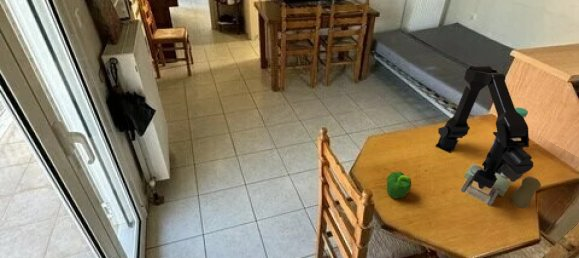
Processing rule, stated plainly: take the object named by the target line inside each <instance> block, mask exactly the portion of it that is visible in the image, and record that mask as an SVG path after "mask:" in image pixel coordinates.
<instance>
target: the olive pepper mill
mask: <svg viewBox="0 0 579 258" xmlns="http://www.w3.org/2000/svg"><path fill="white" fill-rule="evenodd" d="M541 185H542V184H541V181H539V179H537V178H536V177H533V176H526V177H524V178H523V179H522V181H521V185H520V186H519V187H518V188H517V189H516V190H515V191H514V193H513V194H511V195H510V197H509V201H510V203H512V205H514V206H515V207H518V208H520V209H528V208H529V207H530V204H531V202H532V200H533V197H534V195H535V193H536V192H537V191H539V190H540V188H541ZM528 206H529V207H528ZM527 207H528V208H527Z"/></svg>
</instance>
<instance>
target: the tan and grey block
mask: <svg viewBox="0 0 579 258" xmlns="http://www.w3.org/2000/svg"><path fill="white" fill-rule="evenodd" d="M496 178H497V177H496ZM497 179H498V178H497ZM496 181H497V180H496ZM495 183H496V182H495ZM494 185H495V184H494ZM494 185H493V186H494ZM471 186H472V187H474V188H476V189H478V190H480V191H482V192H484V193H486V194H488V195H489V193H490V191H491V190H492V188H493V187H492V188H487V187H484V188H483V189H480V188H479V186H478V183H477V182H475V181H473V183H472V185H471Z"/></svg>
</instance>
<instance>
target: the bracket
mask: <svg viewBox="0 0 579 258" xmlns="http://www.w3.org/2000/svg"><path fill="white" fill-rule="evenodd" d="M472 178H473V176H472V175H470V177H469V178H468V179H466V180H465V183H464V184H463V185H462V187H461V189H460V191H461V192H463V193H465V194H467V195H469V196H471V197H473V198H474V199H477V200H479V201H481V202H483V203H484V204H487V205H488V207H489V206H490V207H491V206H492V204H493V203H494V201H495V199H496V198H497V196H498V195H499V194H498V193H499V191H500V189H499V188H497V187H495V186H493V188H492V190H491V191H490V193H489V195H488V194H486V193H484V192H482V191H480V190H478V189H476V188H474V187H472V186H471V185H472V183H473V179H472Z"/></svg>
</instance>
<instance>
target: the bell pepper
mask: <svg viewBox="0 0 579 258" xmlns="http://www.w3.org/2000/svg"><path fill="white" fill-rule="evenodd" d="M404 174H405V173H403V172H402V171H394V172H391V173H390V174H388V176H387V179H386V193H387V195H389V197H390V198H393V199H398V198H400V199H401V198H404V197H405V196H406V195H407V194H408V192H409V191H410V189H411V188H412V179H411V178H410V177H409V176H407V175H406V174H405V175H404Z"/></svg>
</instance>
